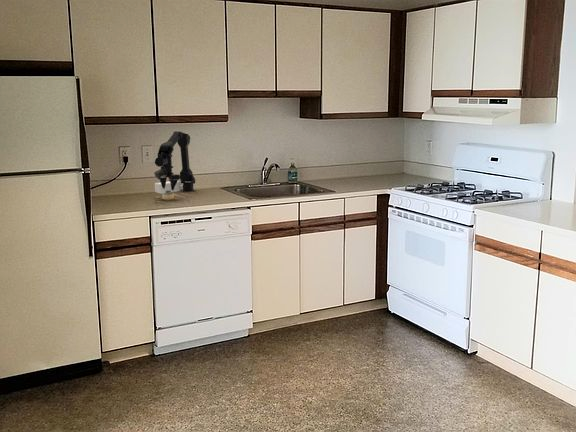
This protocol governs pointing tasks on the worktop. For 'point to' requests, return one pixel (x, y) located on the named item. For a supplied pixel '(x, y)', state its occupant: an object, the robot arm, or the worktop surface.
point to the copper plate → (178, 196)
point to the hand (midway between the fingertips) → (168, 189)
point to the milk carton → (167, 187)
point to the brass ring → (168, 196)
